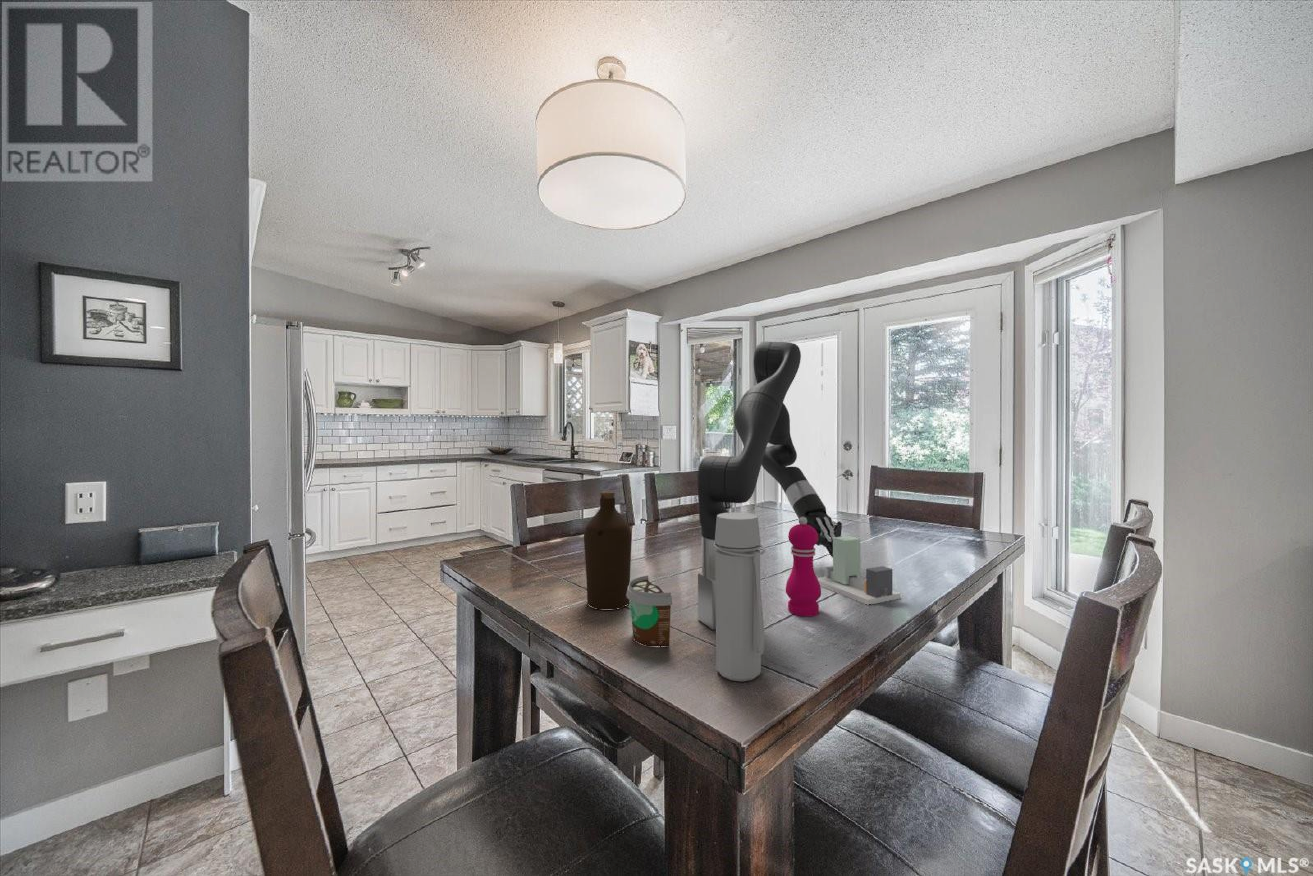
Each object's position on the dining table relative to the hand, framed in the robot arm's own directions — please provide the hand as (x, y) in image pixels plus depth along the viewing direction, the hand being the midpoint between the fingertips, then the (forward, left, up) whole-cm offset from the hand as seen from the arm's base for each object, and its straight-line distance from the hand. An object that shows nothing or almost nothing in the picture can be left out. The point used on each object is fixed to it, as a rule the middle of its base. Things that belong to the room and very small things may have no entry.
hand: (838, 557), depth 123 cm
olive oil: (-56, +11, -7) cm, 58 cm away
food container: (-56, -10, -7) cm, 57 cm away
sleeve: (0, -3, -5) cm, 6 cm away
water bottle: (-47, -29, -7) cm, 56 cm away
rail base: (0, -5, -7) cm, 9 cm away
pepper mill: (-20, -11, -7) cm, 24 cm away
